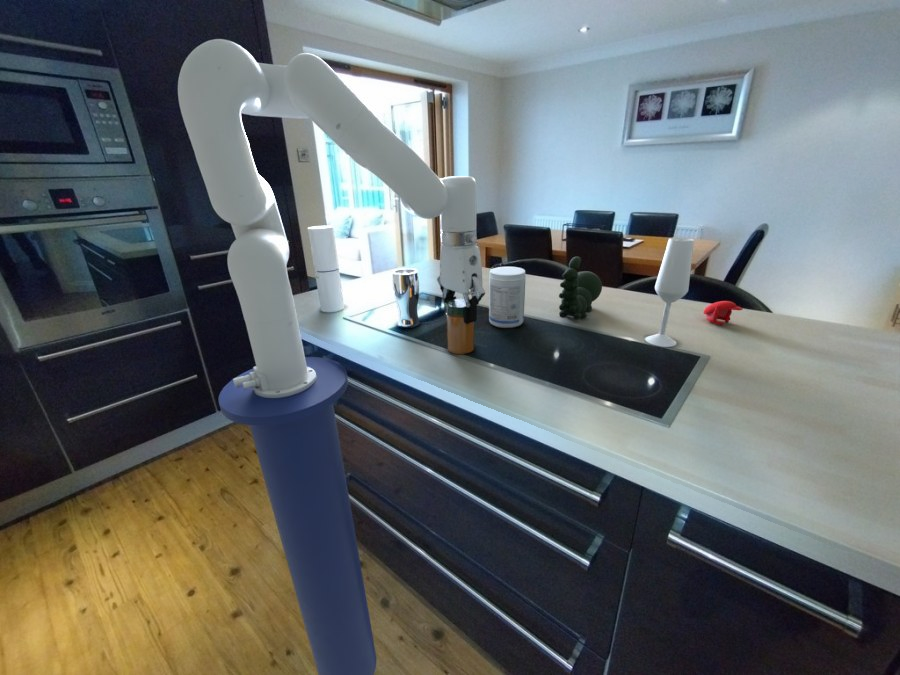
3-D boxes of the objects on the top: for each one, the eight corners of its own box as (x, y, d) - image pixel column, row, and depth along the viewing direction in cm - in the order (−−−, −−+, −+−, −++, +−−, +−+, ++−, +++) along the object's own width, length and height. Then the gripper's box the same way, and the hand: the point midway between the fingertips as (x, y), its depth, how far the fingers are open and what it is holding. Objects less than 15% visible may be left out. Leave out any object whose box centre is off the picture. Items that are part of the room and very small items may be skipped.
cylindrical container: (335, 313, 119) (322, 229, 109) (316, 311, 121) (302, 228, 111) (348, 306, 125) (337, 225, 115) (330, 304, 127) (318, 225, 117)
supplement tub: (499, 314, 113) (500, 264, 108) (529, 320, 108) (532, 268, 102) (482, 325, 106) (482, 272, 100) (513, 331, 101) (515, 276, 95)
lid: (457, 304, 93) (457, 296, 92) (480, 309, 89) (480, 301, 88) (439, 311, 88) (439, 303, 88) (462, 317, 84) (462, 309, 84)
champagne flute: (656, 348, 90) (677, 242, 80) (639, 336, 96) (657, 237, 86) (683, 345, 90) (707, 240, 81) (664, 334, 97) (684, 236, 87)
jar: (458, 356, 88) (458, 312, 84) (441, 347, 93) (440, 305, 89) (479, 348, 92) (479, 306, 88) (462, 340, 97) (461, 299, 92)
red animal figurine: (701, 324, 102) (706, 302, 100) (701, 317, 107) (706, 296, 105) (738, 329, 98) (744, 306, 96) (736, 321, 103) (742, 300, 101)
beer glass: (400, 330, 104) (396, 275, 98) (393, 322, 110) (388, 270, 104) (424, 326, 107) (421, 272, 101) (416, 318, 112) (413, 267, 107)
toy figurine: (582, 334, 102) (605, 300, 120) (589, 264, 93) (612, 239, 112) (547, 328, 107) (574, 296, 125) (551, 261, 98) (579, 237, 116)
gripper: (500, 241, 78) (498, 324, 85) (448, 233, 91) (450, 305, 98) (471, 246, 74) (472, 332, 81) (421, 236, 87) (425, 312, 94)
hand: (460, 317), depth 89 cm, fingers closed on lid, 6 cm apart
